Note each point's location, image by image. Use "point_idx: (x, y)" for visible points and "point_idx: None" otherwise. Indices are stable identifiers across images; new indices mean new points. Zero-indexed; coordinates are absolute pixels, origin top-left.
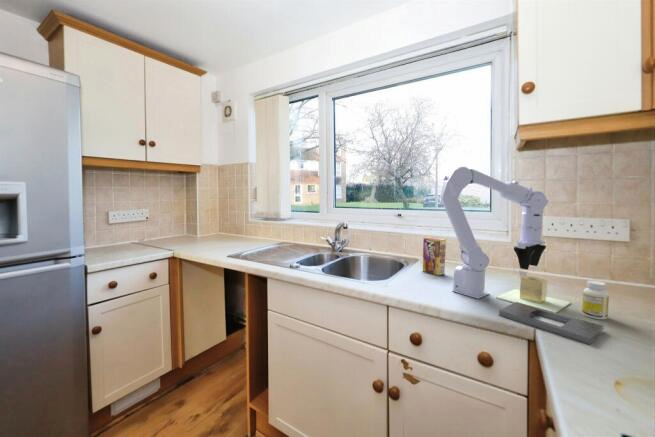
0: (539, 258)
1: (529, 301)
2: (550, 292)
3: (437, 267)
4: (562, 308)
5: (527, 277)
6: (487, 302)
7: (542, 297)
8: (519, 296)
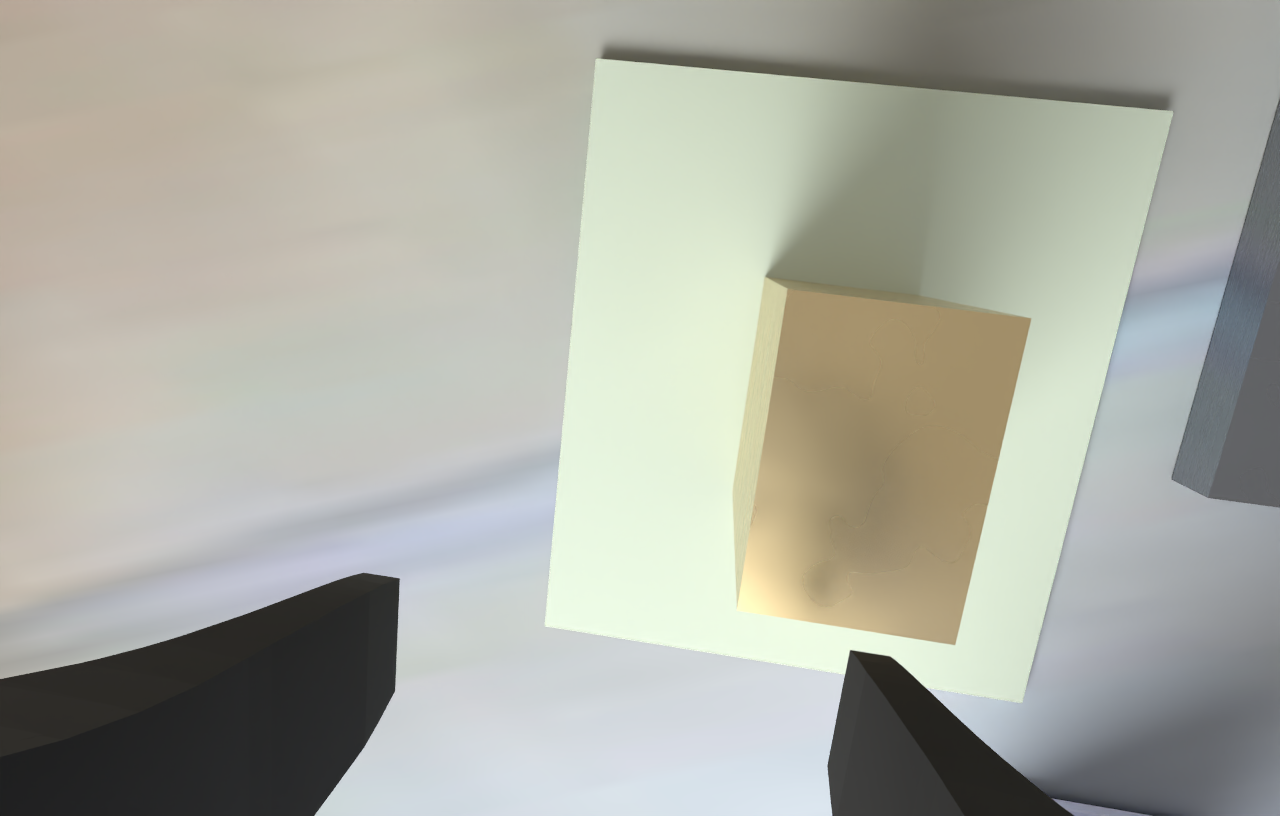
0: (260, 628)
1: None
2: (328, 319)
3: None
4: (882, 86)
5: (872, 567)
6: (1240, 724)
7: (903, 295)
8: None
